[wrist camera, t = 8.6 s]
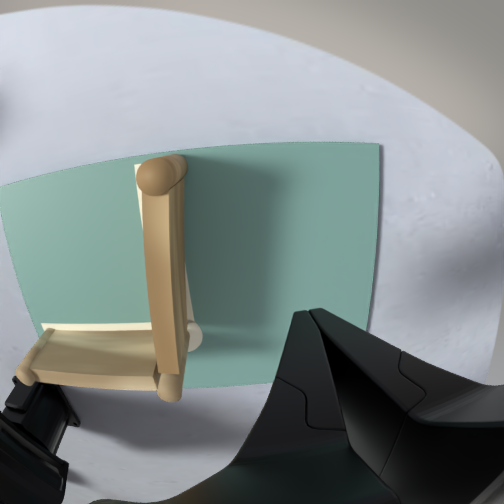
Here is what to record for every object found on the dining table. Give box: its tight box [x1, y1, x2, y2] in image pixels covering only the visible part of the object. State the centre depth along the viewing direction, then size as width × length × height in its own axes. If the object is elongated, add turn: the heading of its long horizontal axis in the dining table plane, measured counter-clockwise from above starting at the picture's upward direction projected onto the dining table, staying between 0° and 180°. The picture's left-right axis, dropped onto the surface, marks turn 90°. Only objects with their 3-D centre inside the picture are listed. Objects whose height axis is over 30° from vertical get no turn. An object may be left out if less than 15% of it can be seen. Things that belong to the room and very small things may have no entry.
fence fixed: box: [15, 328, 190, 402], centre depth 18 cm, size 2×13×6 cm, turn 93°
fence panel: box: [136, 154, 188, 374], centre depth 16 cm, size 2×11×5 cm, turn 177°
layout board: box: [0, 142, 379, 388], centre depth 20 cm, size 18×27×1 cm, turn 93°
